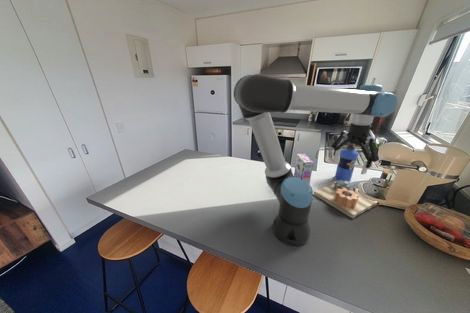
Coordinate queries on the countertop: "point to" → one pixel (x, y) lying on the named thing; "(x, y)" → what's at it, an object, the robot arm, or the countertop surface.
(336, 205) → the gear board
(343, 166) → the water bottle
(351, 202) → the gear
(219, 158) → the countertop surface
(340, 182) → the gear
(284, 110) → the robot arm
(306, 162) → the candy box
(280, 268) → the countertop surface
